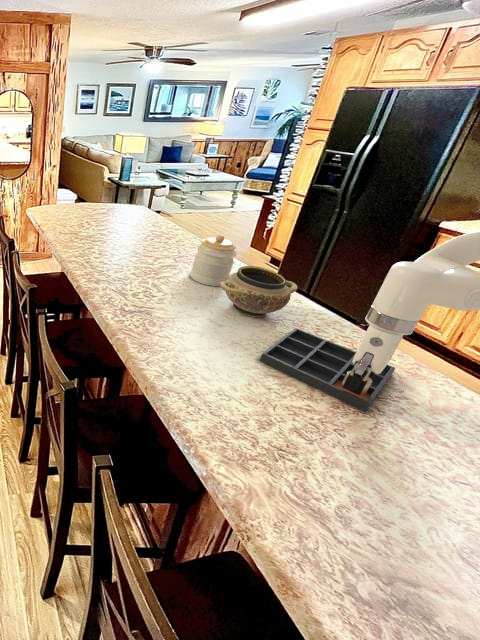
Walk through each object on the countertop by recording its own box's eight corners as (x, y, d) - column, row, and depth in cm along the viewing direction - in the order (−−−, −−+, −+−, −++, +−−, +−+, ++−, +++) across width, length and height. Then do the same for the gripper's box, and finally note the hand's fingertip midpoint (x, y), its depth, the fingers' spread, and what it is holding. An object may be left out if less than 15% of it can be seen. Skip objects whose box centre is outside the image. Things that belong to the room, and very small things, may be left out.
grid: (391, 375, 98) (395, 367, 96) (365, 412, 86) (370, 404, 85) (292, 334, 113) (295, 327, 112) (259, 360, 102) (262, 353, 101)
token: (369, 388, 89) (374, 378, 88) (363, 396, 87) (369, 386, 85) (345, 378, 92) (350, 368, 91) (339, 385, 90) (344, 375, 89)
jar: (231, 289, 139) (246, 243, 132) (192, 283, 142) (204, 238, 135) (222, 274, 151) (236, 231, 143) (187, 270, 154) (198, 227, 146)
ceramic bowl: (220, 327, 121) (241, 292, 111) (197, 289, 134) (214, 255, 124) (296, 329, 121) (324, 294, 112) (266, 291, 135) (288, 257, 125)
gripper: (405, 341, 74) (364, 411, 82) (424, 315, 83) (385, 381, 91) (356, 323, 80) (322, 391, 88) (379, 301, 89) (346, 365, 97)
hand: (354, 385), depth 89 cm, fingers closed on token, 4 cm apart
